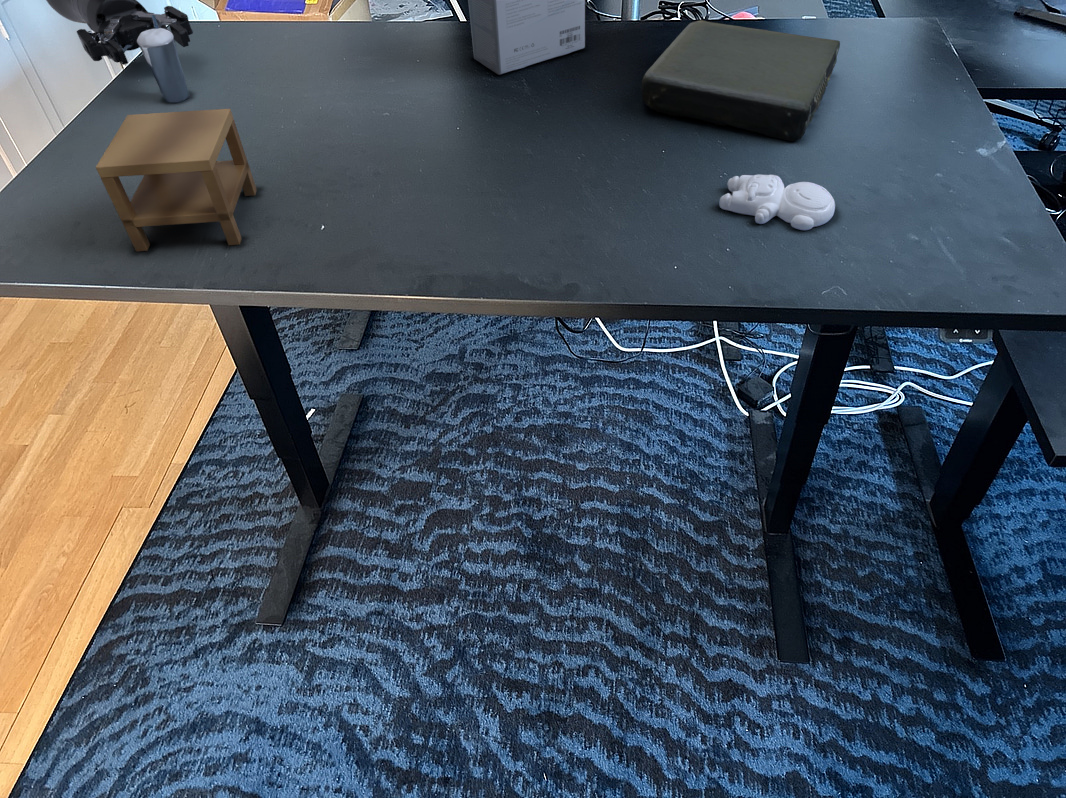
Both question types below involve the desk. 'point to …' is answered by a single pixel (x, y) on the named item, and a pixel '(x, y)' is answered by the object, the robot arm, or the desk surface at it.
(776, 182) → the astronaut figurine
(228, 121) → the wooden side table
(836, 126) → the desk surface
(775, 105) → the network switch
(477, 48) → the hard drive box
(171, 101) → the milkshake
